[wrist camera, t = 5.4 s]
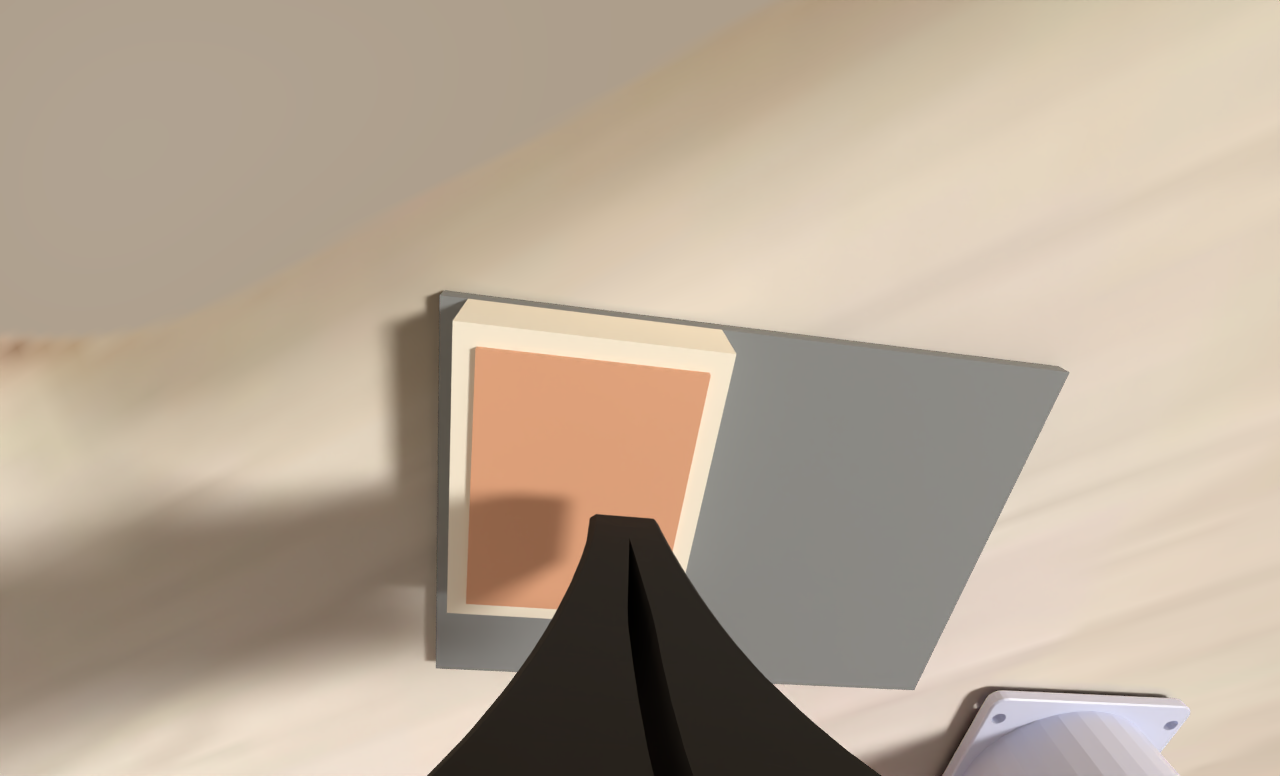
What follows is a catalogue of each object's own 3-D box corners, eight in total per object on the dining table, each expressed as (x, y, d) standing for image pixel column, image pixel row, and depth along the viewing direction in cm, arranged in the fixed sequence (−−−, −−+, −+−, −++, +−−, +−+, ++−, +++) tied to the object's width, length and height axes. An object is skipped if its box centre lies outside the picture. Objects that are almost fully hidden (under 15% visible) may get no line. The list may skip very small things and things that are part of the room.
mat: (908, 680, 21) (913, 690, 20) (438, 657, 19) (435, 668, 18) (1058, 366, 16) (1069, 372, 15) (443, 290, 14) (439, 295, 13)
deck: (674, 630, 16) (445, 617, 15) (666, 583, 17) (459, 569, 17) (738, 356, 13) (450, 323, 12) (722, 329, 14) (468, 298, 13)
